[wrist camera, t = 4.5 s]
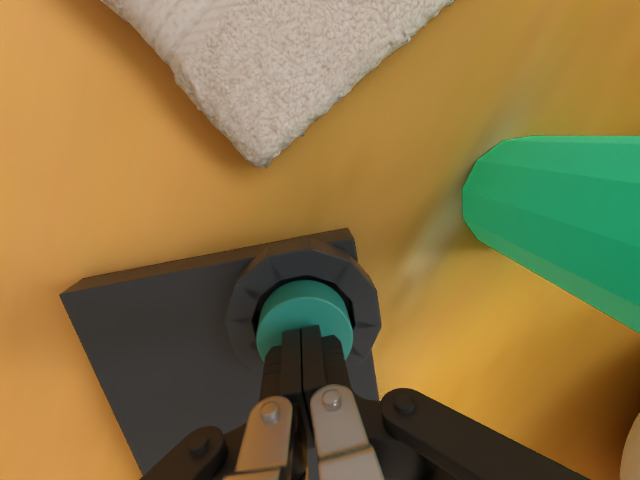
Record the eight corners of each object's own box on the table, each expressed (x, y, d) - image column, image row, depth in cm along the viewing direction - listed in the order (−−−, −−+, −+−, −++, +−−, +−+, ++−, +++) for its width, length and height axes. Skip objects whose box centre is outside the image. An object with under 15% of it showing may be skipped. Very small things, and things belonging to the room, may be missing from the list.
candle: (518, 109, 16) (1024, 52, 5) (594, 181, 18) (1128, 265, 6) (437, 208, 18) (695, 342, 6) (514, 268, 19) (842, 470, 8)
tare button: (251, 288, 15) (245, 307, 13) (339, 271, 15) (345, 288, 13) (270, 363, 16) (268, 389, 14) (353, 347, 16) (359, 371, 15)
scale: (79, 270, 17) (27, 302, 14) (355, 217, 18) (369, 236, 14) (176, 496, 22) (156, 559, 19) (391, 453, 23) (407, 508, 19)
